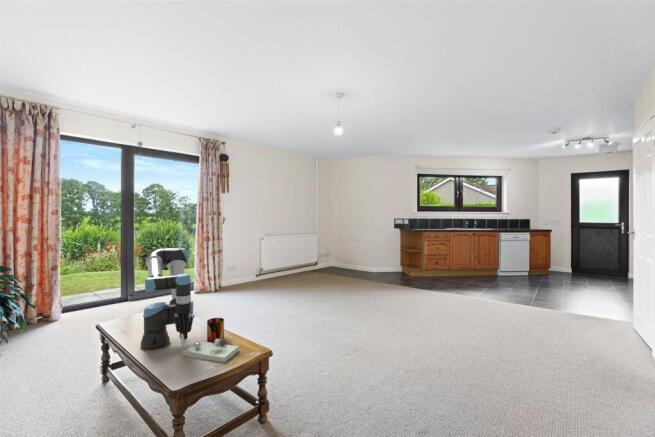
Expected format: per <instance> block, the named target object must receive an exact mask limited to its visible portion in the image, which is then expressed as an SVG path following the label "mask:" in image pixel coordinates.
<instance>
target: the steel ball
mask: <svg viewBox="0 0 655 437" xmlns="http://www.w3.org/2000/svg"><path fill="white" fill-rule="evenodd" d="M195 343H196V342H195ZM195 343H194V344H195ZM194 347H195V348H196V349H199V348H200V347H201V344H200V343H196V344H195V346H194Z"/></svg>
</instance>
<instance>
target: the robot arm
mask: <svg viewBox="0 0 655 437" xmlns="http://www.w3.org/2000/svg"><path fill="white" fill-rule="evenodd" d="M188 264H189V255H188V252H187V249H186V248H184V247H173V248H171V247H170V248H169V247H168V248H157V249H155V250H153V251H152V252H150V253H149V254H148V255H147V256H146V258H145V265H146V267H147V276H148V277H147V278H145V279H144V291H145V292H147V293H148V292H159V291H166V290H167V291H168V290H170V291H171V300H170V301H169V304H167V302H165V301H162V302H154V303H151V304H149V305H147V306H145V308H144V309H143V314H142V315H143V316H142V317H143V334H142V337H141V340H140V348H141V349H142V350H151V351H152V350H158V349H160V348H164V347H166V346H168V345H169V344H170V342H171V339H170V338H171V337H170V336H169V332H168V330H167V326H169V325H175V330H176V332H177V333H179V339H180V346H181V347H183V346H185V345H187V342H188V340H187V339H188V338H189V337H188V333H190V332H191V331H192V328H193V323H194V319H195V314H194V301H192V298H191V295H192V294H191V291H192V290H191V289H192V288H191V282H192V280H191V274H189V273H185V267H186V266H187V265H188ZM163 267H167V269H168V270H169V275H168V276H167V275H165V276H164V273H163Z"/></svg>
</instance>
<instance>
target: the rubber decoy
mask: <svg viewBox="0 0 655 437" xmlns="http://www.w3.org/2000/svg"><path fill="white" fill-rule="evenodd" d="M226 343H227V342H226V340H225V339H224V340H221V341H220V345H221V346H223V345H226Z"/></svg>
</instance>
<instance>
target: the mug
mask: <svg viewBox="0 0 655 437" xmlns="http://www.w3.org/2000/svg"><path fill="white" fill-rule="evenodd" d="M206 336H207V337H206V340H207V341H206V342H210V343H214V342H215V340H216V339H220V341H221V340H225V319H224V318H223V317H213V318H209V319H207V320H206Z"/></svg>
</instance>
